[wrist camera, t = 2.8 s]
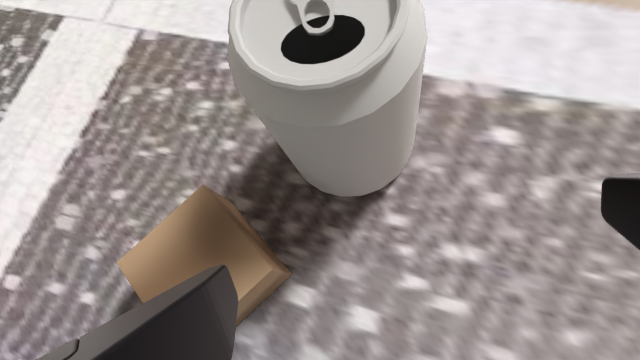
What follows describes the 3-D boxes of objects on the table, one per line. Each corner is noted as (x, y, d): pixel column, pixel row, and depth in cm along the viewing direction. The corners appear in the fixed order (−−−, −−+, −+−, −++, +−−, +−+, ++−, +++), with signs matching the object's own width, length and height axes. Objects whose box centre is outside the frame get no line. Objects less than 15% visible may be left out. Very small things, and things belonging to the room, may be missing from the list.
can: (301, 212, 23) (215, 128, 12) (285, 103, 26) (200, -52, 15) (427, 186, 22) (460, 70, 11) (398, 76, 25) (401, -112, 14)
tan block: (292, 274, 23) (272, 269, 19) (214, 348, 22) (177, 357, 18) (232, 202, 25) (203, 184, 21) (159, 268, 24) (116, 262, 20)
